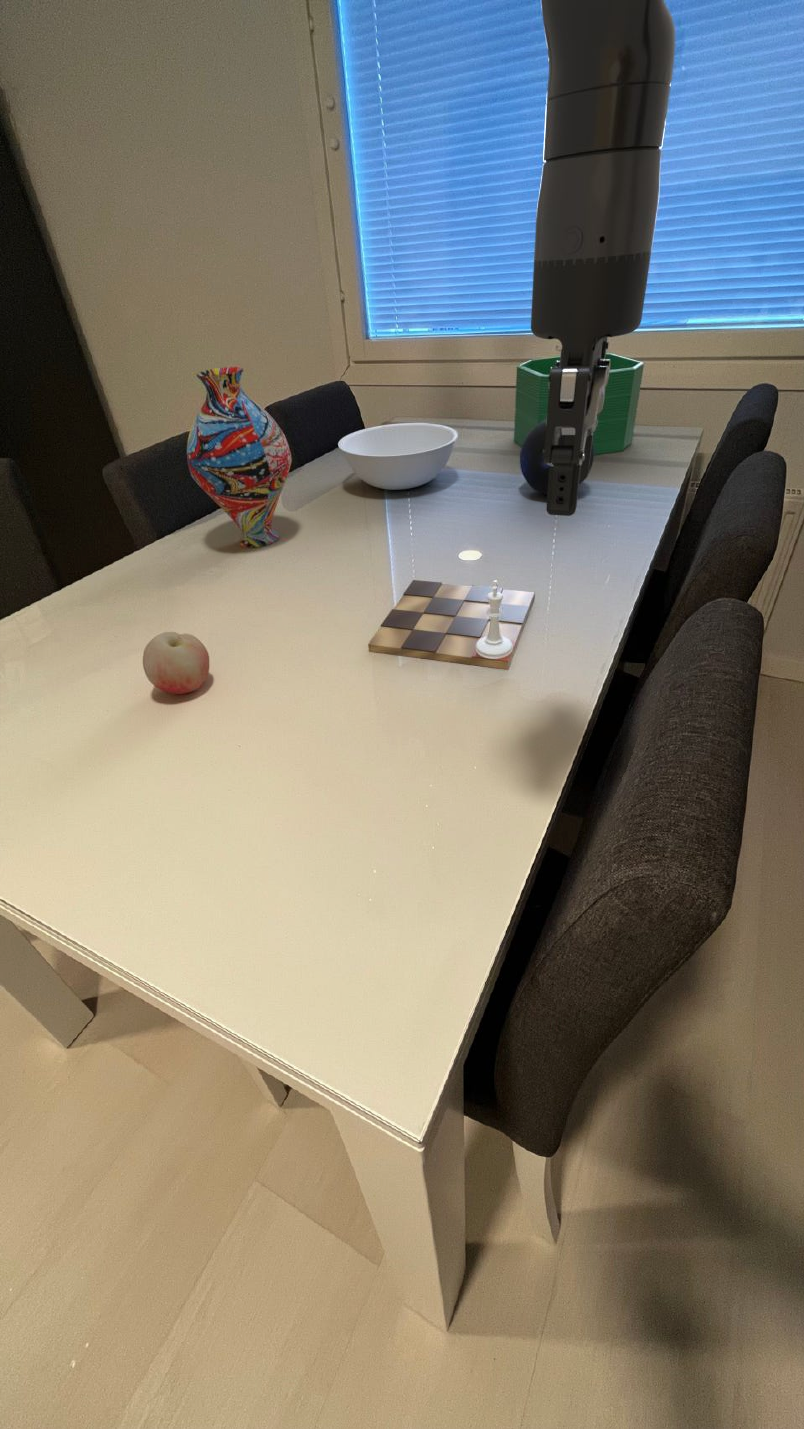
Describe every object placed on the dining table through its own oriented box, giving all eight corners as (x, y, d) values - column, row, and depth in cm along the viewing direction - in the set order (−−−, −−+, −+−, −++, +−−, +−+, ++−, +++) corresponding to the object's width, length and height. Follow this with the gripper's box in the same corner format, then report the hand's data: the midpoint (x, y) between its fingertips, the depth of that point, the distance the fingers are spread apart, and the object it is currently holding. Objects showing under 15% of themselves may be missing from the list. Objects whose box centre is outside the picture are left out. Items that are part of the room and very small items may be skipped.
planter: (642, 448, 150) (656, 365, 138) (543, 462, 147) (549, 379, 135) (594, 424, 170) (603, 350, 158) (506, 437, 167) (509, 362, 155)
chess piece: (514, 640, 83) (517, 573, 76) (510, 660, 79) (513, 591, 73) (478, 638, 84) (478, 571, 77) (472, 657, 80) (472, 589, 74)
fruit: (200, 706, 78) (182, 654, 73) (145, 703, 80) (123, 652, 75) (224, 671, 85) (209, 621, 80) (172, 669, 86) (154, 620, 81)
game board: (534, 599, 94) (535, 590, 93) (507, 669, 80) (508, 661, 79) (413, 587, 100) (413, 579, 99) (368, 651, 86) (367, 643, 85)
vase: (270, 515, 132) (237, 358, 114) (323, 534, 121) (296, 364, 103) (194, 543, 123) (144, 378, 104) (244, 567, 111) (198, 386, 93)
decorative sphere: (508, 487, 135) (511, 414, 126) (572, 478, 137) (579, 405, 127) (532, 509, 123) (537, 431, 114) (601, 499, 125) (612, 421, 116)
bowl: (321, 496, 140) (314, 451, 133) (381, 461, 157) (377, 420, 151) (425, 509, 128) (422, 460, 122) (477, 470, 146) (477, 426, 140)
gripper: (648, 250, 34) (607, 531, 44) (655, 240, 44) (621, 469, 54) (514, 260, 36) (505, 525, 46) (551, 248, 46) (537, 467, 56)
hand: (568, 495), depth 50 cm, fingers open, 8 cm apart
